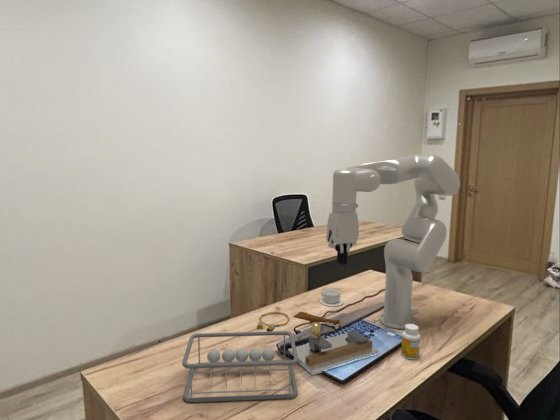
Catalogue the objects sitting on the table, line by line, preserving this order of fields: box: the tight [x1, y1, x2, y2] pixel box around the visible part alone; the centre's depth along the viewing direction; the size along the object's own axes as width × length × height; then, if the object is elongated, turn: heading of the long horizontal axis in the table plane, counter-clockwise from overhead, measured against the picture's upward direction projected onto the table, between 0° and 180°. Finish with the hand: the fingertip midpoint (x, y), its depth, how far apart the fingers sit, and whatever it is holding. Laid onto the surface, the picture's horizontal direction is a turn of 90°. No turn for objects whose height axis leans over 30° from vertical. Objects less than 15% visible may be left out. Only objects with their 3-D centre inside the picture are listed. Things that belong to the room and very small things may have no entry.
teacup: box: [319, 288, 344, 307], centre depth 169 cm, size 10×10×5 cm
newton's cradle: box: [181, 330, 299, 403], centre depth 111 cm, size 30×10×18 cm
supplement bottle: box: [400, 323, 421, 360], centre depth 126 cm, size 5×5×10 cm
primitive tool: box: [293, 311, 341, 325], centre depth 151 cm, size 19×6×4 cm, turn 53°
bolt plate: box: [287, 330, 380, 376], centre depth 127 cm, size 25×14×4 cm, turn 119°
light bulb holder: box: [308, 322, 332, 351], centre depth 124 cm, size 3×8×8 cm, turn 28°
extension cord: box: [256, 311, 290, 332], centre depth 150 cm, size 12×16×2 cm
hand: (342, 263), depth 131 cm, fingers closed
